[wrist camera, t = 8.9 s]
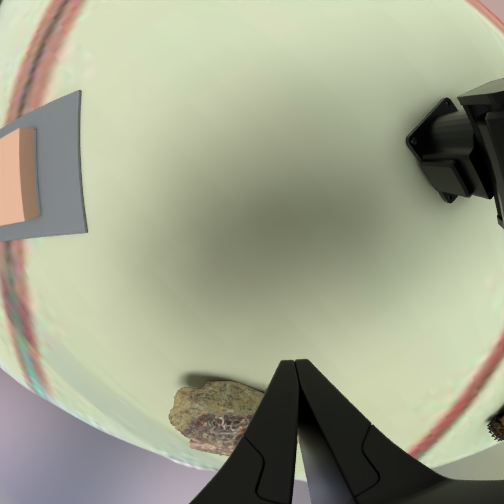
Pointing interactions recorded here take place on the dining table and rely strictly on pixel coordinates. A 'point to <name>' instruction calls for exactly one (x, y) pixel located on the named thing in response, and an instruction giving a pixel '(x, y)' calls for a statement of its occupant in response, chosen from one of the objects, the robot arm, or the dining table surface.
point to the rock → (215, 415)
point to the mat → (53, 170)
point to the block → (18, 177)
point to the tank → (497, 427)
